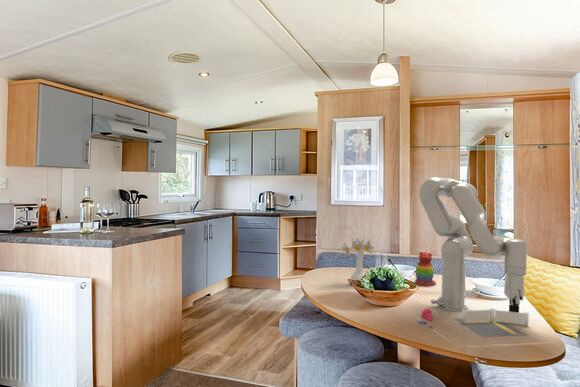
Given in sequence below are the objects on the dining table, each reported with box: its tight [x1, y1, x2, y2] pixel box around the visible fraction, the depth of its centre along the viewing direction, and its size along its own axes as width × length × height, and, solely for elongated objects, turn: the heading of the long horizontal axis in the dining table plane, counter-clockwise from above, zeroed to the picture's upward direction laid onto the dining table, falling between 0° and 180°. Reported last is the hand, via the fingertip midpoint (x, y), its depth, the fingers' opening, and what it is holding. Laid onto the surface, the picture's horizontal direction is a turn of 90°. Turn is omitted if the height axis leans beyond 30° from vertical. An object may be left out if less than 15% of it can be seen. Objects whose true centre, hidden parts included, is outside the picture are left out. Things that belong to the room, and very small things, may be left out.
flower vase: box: [341, 238, 375, 281], centre depth 205 cm, size 13×18×25 cm
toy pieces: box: [417, 308, 434, 329], centre depth 152 cm, size 12×11×4 cm
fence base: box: [454, 308, 528, 338], centre depth 148 cm, size 28×18×6 cm, turn 99°
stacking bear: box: [414, 251, 437, 287], centre depth 211 cm, size 11×10×18 cm
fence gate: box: [494, 309, 530, 326], centre depth 151 cm, size 12×1×5 cm, turn 72°
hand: (513, 315), depth 153 cm, fingers closed
